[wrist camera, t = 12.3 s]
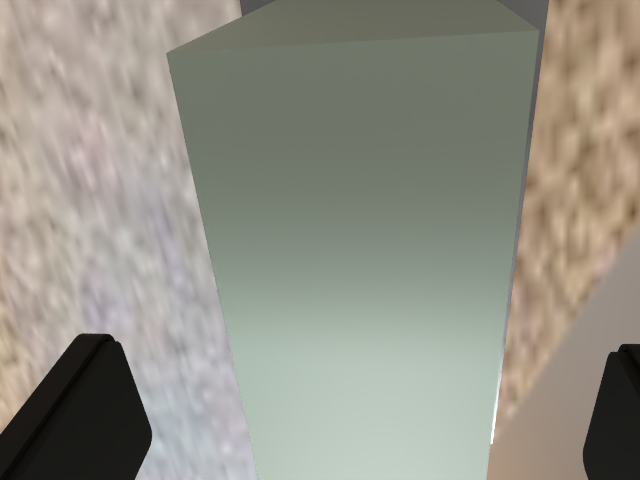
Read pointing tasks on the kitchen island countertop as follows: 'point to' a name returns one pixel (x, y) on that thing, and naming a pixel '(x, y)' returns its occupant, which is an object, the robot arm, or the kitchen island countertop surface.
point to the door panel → (362, 224)
